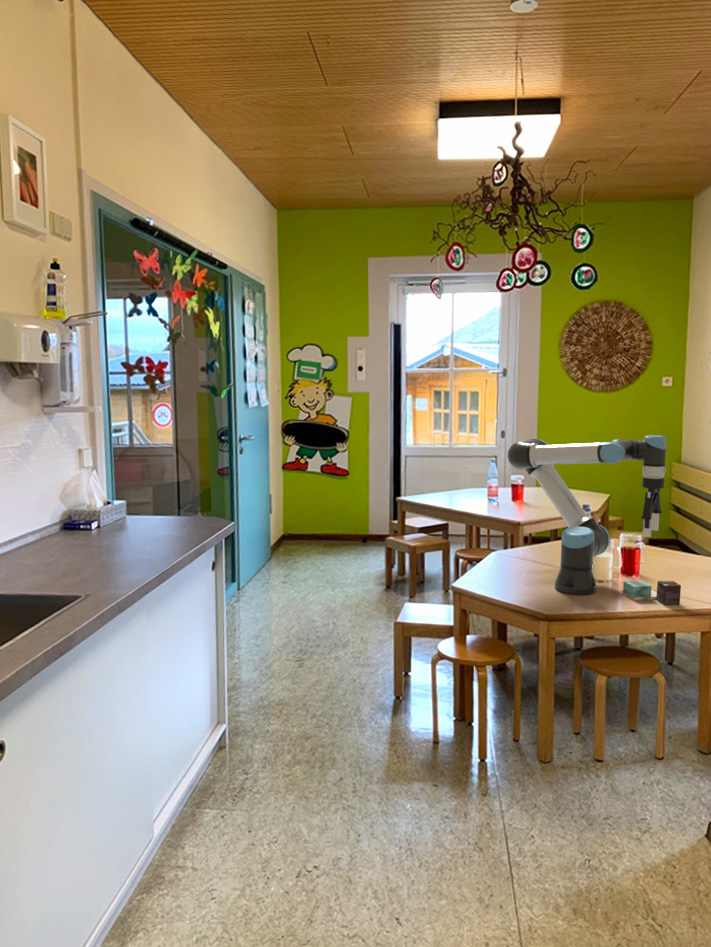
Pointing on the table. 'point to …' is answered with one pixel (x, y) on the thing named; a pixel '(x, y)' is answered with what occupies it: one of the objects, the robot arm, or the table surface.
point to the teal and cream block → (638, 590)
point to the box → (668, 592)
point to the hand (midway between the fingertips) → (650, 533)
